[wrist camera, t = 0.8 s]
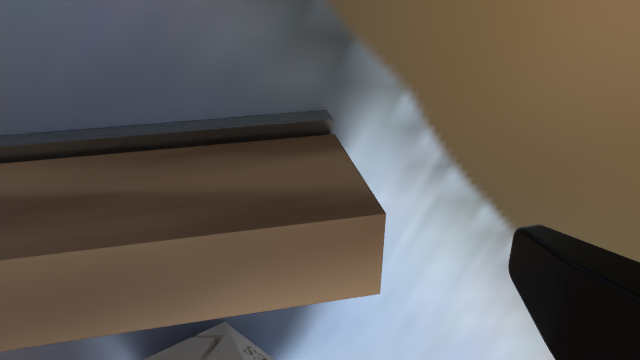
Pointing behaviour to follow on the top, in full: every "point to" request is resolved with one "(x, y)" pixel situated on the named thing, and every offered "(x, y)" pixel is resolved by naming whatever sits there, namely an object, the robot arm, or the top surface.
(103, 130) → the rail
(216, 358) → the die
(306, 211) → the wooden block
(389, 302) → the top surface
